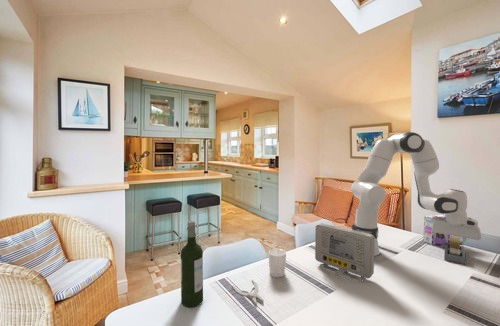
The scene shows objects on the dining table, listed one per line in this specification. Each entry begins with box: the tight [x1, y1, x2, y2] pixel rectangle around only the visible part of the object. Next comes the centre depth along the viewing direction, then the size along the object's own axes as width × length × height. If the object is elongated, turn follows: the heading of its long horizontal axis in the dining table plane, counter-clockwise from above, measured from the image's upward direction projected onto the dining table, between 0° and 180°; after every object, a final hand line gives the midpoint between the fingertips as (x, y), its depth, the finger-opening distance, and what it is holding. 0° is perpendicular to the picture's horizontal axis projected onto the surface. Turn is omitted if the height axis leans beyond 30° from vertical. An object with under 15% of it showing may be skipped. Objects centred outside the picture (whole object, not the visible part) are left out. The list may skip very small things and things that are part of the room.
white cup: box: [268, 248, 287, 278], centre depth 107 cm, size 8×8×10 cm
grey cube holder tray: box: [443, 243, 467, 266], centre depth 126 cm, size 8×20×3 cm, turn 140°
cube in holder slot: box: [449, 248, 460, 256], centre depth 122 cm, size 4×4×5 cm
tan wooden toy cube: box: [449, 235, 461, 249], centre depth 129 cm, size 4×4×5 cm
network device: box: [314, 222, 375, 283], centre depth 108 cm, size 26×9×20 cm, turn 47°
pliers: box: [232, 279, 265, 306], centre depth 92 cm, size 10×2×15 cm
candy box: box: [423, 214, 451, 246], centre depth 143 cm, size 14×6×16 cm, turn 104°
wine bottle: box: [180, 220, 204, 309], centre depth 86 cm, size 8×8×30 cm
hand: (454, 243), depth 129 cm, fingers closed on tan wooden toy cube, 4 cm apart
